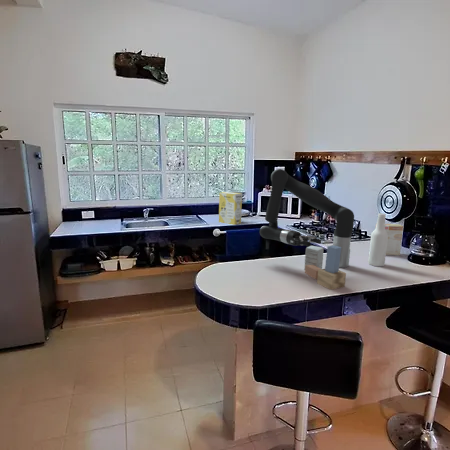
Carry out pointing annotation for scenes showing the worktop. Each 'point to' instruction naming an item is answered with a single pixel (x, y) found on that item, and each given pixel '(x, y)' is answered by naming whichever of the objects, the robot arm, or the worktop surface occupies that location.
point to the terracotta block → (312, 271)
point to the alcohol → (378, 243)
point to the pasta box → (230, 207)
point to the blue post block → (333, 259)
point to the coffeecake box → (393, 238)
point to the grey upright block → (314, 256)
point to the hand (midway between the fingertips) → (315, 243)
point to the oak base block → (331, 279)
